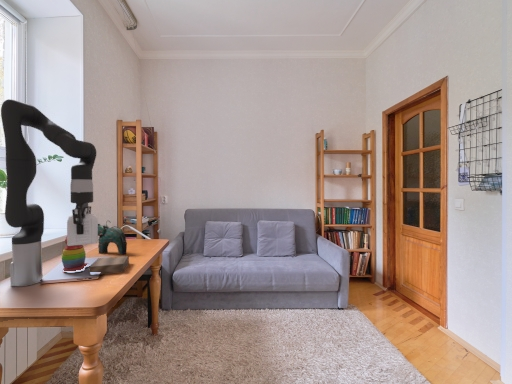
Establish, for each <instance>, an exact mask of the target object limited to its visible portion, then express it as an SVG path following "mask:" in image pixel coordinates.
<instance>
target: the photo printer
mask: <svg viewBox="0 0 512 384" xmlns="http://www.w3.org/2000/svg"><path fill="white" fill-rule="evenodd" d="M81 217H82V216H81ZM78 221H79V219H78ZM98 221H99V220H98V217H97V215H96V214H92V213H91V214H86V218H85V219H84V224H83V225H84V233H83V234H79V235H78V234H77V228H76V224H74V223H73V214H72V215H70V216H68V217H67V222H66V237H67V245H66V246H74V245H83V246H84V245H92V244H93V245H96V244H99V236H98V224H99V222H98Z"/></svg>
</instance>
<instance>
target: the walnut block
mask: <svg viewBox="0 0 512 384" xmlns="http://www.w3.org/2000/svg"><path fill="white" fill-rule="evenodd" d="M129 257H130V255H120V256H112V257H101V258H99V257H98V258H97V259H96V260H95V261H94V262H93V263H91V264H90V266H89V267H88V273H89V272H101V275H109V274H118V273H119V274H121V273H125V270H126V269H127V268H128V265H129V264H130V258H129Z"/></svg>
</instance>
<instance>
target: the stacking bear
mask: <svg viewBox="0 0 512 384" xmlns="http://www.w3.org/2000/svg"><path fill="white" fill-rule="evenodd" d="M64 242H65V244H66V246H65V247H64V249H63V250H62V254H61V263H62V266H63V269H62V271H63V270H64V271H76V270H81V269H83V268H84V266H86V265H87V264H89V263H88V262H86V257H87V256H86V255H87V254H86V251H85V247H84V245H74V246H67V236H66V237H65V239H64Z"/></svg>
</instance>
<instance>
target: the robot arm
mask: <svg viewBox="0 0 512 384" xmlns="http://www.w3.org/2000/svg"><path fill="white" fill-rule="evenodd" d="M0 116H1V123H2V129H3V134H4V143H5V144H4V145H5V170H6V197H5V198H6V200H5V207H4V217H5V221H6V223H7V224H8V226H10V227H13V228H15V229H16V228H20V230H19V232H17V233H16V234H15V235H14V236H12V238H11V250H12V251H11V252H12V257H11V258H12V261H11V262H10V263H9V278H10V279H9V280H10V287H26V286H27V287H28V286H31V285H35V284H37V283H40V282H41V281H40V280H41V279H42V278H43V277H44V275H43V274H44V273H43V251H42V248H43V247H42V245H43V244H42V237H43V234H44V231H45V229H44V228H45V213H44V210H43V208H42V206H40V205H39V204H37V203H27V198H28V197H27V195H28V191H29V188H30V186H31V185H32V183H33V181H34V179H35V178H36V175H37V157H36V154H35V153H34V151H33V149H32V148H31V146H30V145H29V144H28V143H27V140H26V139H25V137H24V134H23V129H22V126H23V127H24V126H25V127H30V128H34V129H37V130H38V131H40V132H41V133H42V134H43V136H44V137H45V138H46V139H47V140H48V141H49V142H51V143H52V144H54V145H56V147H59V149H61V151H62V152H63V153H65V155H67V156H69V157H71V158H73V159H79V162H78V163H77V164H73V165H72V166H71V168H70V179H71V180H70V203H72V204H75V207H74V208H73V209H72V210H71V212H72V215H73V223H74V224H76V228H77V234H78V235H79V234H83V233H84V225H83V224H84V219H85V218H86V214H92V206H91V205H89V204H92V203H93V202H94V182H93V169H94V165H95V161H96V158H97V149H96V146H95V145H94V144H93V143H91V142H88V141H82V140H79V139H77V138H76V136H75V135H74V134H73V133H72V132H70V131H68V130H67V129H64V128H63V127H61V126H60V125H58V124H57V123H55V122H54V121H52V120H51V119H49V117H47V116H46V115H45V114H44V113H43V112H42V111H41V110H39V109H38V108H37V107H35V106H34V105H32V104H29V103H26V102H22V101H19V100H16V99H10V98H9V99H6V100H4V101H3V102H2V104H1V107H0ZM81 216H82V217H81ZM78 219H79V221H78ZM43 279H44V278H43Z"/></svg>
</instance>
